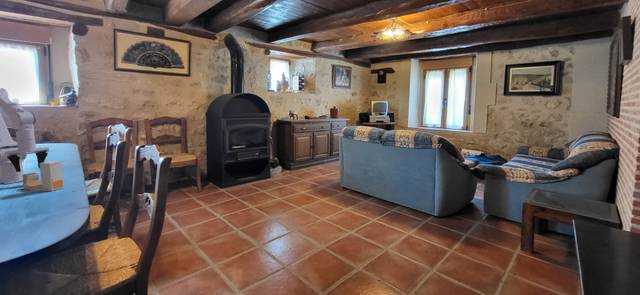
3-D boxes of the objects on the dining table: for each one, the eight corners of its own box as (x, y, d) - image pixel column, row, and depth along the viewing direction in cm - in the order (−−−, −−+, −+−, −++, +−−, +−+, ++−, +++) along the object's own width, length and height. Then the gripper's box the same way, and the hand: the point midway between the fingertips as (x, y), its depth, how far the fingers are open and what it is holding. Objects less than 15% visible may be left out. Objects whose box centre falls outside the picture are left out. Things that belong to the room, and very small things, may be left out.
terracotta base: (23, 188, 128) (22, 184, 128) (43, 184, 134) (43, 180, 134) (31, 191, 125) (31, 186, 125) (52, 186, 131) (51, 182, 131)
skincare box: (51, 191, 125) (48, 163, 123) (41, 191, 125) (38, 163, 124) (64, 187, 131) (61, 160, 130) (55, 187, 131) (52, 160, 130)
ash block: (23, 185, 133) (22, 174, 132) (35, 183, 137) (33, 172, 136) (28, 186, 131) (26, 175, 131) (39, 184, 135) (38, 173, 134)
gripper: (7, 142, 123) (12, 174, 125) (51, 138, 136) (54, 167, 138) (-1, 140, 126) (4, 172, 128) (43, 137, 139) (46, 166, 141)
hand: (29, 170), depth 133 cm, fingers open, 7 cm apart
